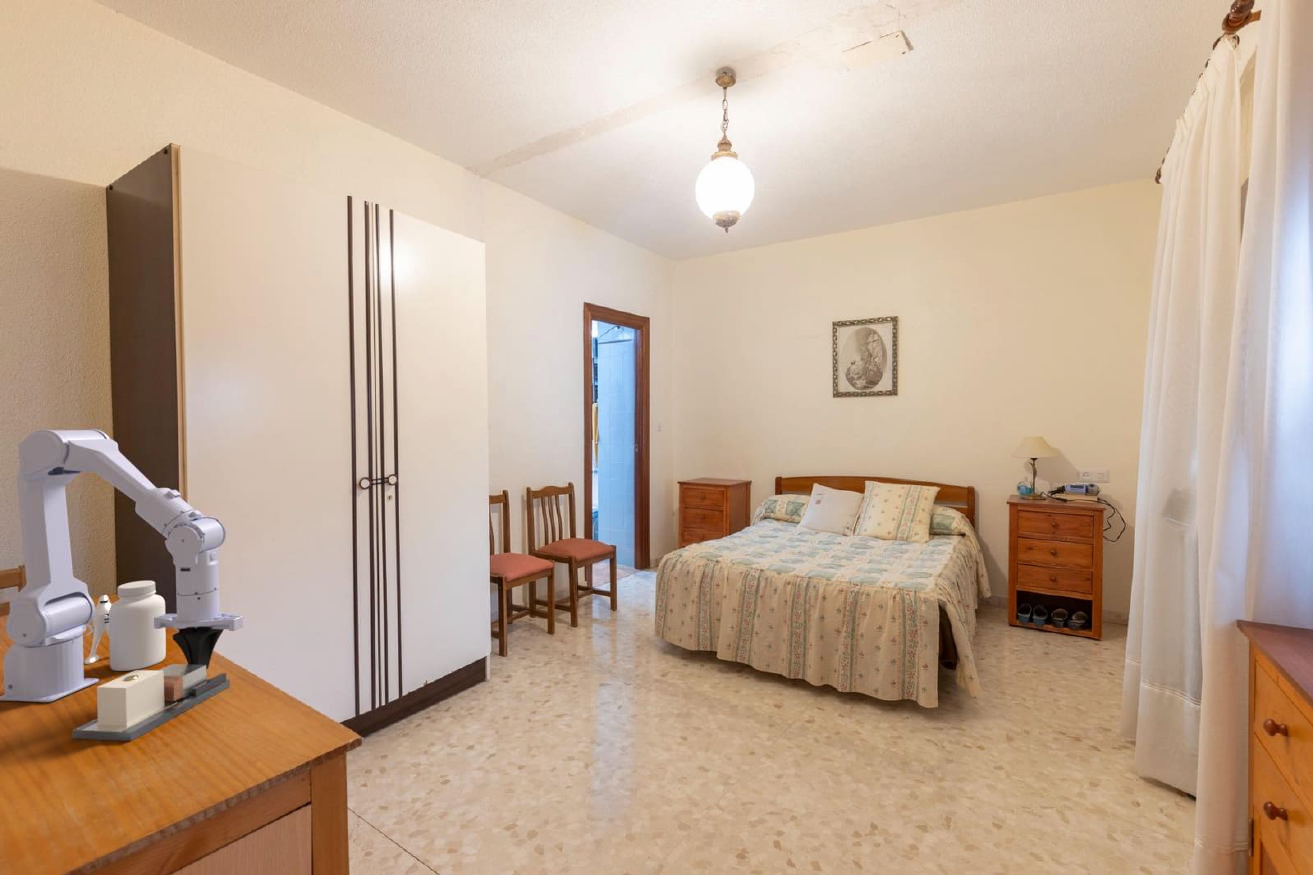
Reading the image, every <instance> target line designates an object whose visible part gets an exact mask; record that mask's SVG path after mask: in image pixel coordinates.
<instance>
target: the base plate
mask: <svg viewBox="0 0 1313 875" xmlns="http://www.w3.org/2000/svg"><path fill="white" fill-rule="evenodd" d="M230 684H231V680H230V679H227V672H221V673H219V674H218V675H215V676H213V677H211V678H206V681H205V682H203V683H201V684H200V685H198V686H196V687H194V688H192V689H191V693H192V694H190V695H188V696H187V697H185V698H180V699H178V700H176V701H164V707H162V708H160V709H158V710H156V711H154V712H152V713H150V714H149V715H147V716H145V717H143V718H141V719H139V720H137V721H135V722H133V723H131V724H130V725H128V726H116V725H98V717H97V718H95V719H93V720H91V721H89V722H87V723H85V724H83V725H80V726H78V727H76V728H74V729H72V739H76V740H97V741H100V740H101V741H116V742H117V741H118V742H119V741H120V742H121V741H122V742H132V741H134V740H136V739H138V738H139V737H142V736H143V735H145V734H147V733H148V732H150V731H152V730H154V729H156V728H157V727H159V726H161V725H163V724H165V723H166V722H169V721H170V720H172V719H173V718H174V719H175V718H176V717H178V716H179V715H181V714H183V713H184V711H185V712H186V710H187V711H188V710H190V709H192V708H194V707H196V706H197V705H200V704H201V703H202V701H203V702H204V700H205V701H206V700H209V699H210V698H212V697H214V696H215V695H217V694H219V693H221V692H223V691H225V690H226V689H228V688H230V686H231V685H230ZM220 691H221V692H220ZM195 705H196V706H195ZM178 714H179V715H178ZM177 715H178V716H177ZM175 716H176V717H175Z"/></svg>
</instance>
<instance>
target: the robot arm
mask: <svg viewBox="0 0 1313 875" xmlns="http://www.w3.org/2000/svg"><path fill="white" fill-rule="evenodd" d="M17 446H18V455H19V457H18V458H19V468H18V471H17V475H16V486H17V487H16V488H17V500H18V508H19V516H20V517H19V518H20V529H21V538H22V550H23V560H24V569H25V570H24V571H25V579H26V581H25V582H26V585H25V586H24V587H23V588H22V589H21V590H20V591H19V592H18V593H16V594H15V596H13V597H12V598H11V600H9V614H8V616H7V618H6V621H5V631H6V635H7V636H8V637H9V639H10V640H11V642H14V644H12V645H11V646H10V647H9V649H8V650H7V651H6V653H5V655H4V658H3V661H2V662H3V663H2V664H3V688H4V689H3V692H4V694H3V695H1V696H0V701H8V702H11V701H12V702H31V703H32V702H34V703H37V702H39V703H50V702H54V701H56V700H58V699H62V698H63V697H65V696H68V695H70V694H73V693H75V692H77V691H80V690H83V689H85V688H87V687H90V686H92V685H93V684H96V683H99V680H100V679H99V678H94V677H93V678H92V677H91V678H89V677H85V674H84V671H85V669H84V665H85V664H84V639H83V638H84V636H83V633H84V632H86V631H87V627H86V625H87V624H88V623H89V624H90V622H92V621H91V620H92V619H93V617H94V614H95V606H96V605H95V603H94V600H93V599H92V597H91V596H90V594H89V590H88V585H87V584H86V583H85V582H83V581H82V580H80V579H78V578H76V577H74V570H73V560H72V549H71V540H70V529H69V518H68V506H67V496H66V486H67V485H68V484H69V483H70V482H71V481H73V480H74V479H75V478H76V477H77V476H78V475H79V474H82V473H86V472H87V473H94V474H96V475H98V476H99V477H101V478H102V479H103V480H105V481H106V482H108V483H109V484H110V485H112V486H113V487H115V488H116V489H117V490H118V491H120V492H121V493H123V494H124V495H126V496H127V497H128V498H130V499H132V500H133V502H135V509H134V510H135V513H136V514H137V515H138V516H139V517H140V518H142V519H143V520H144V521H145V522H146V523H147V524H149V525H150V526H151V527H152V528H154V529H155V530H156V531H157V532H159V533H160V534H161V535H162V537H165V538H166V539H165V540H164V544H165V547H166V550H167V551H168V553H170V554H171V556H172V559H173V560H172V563H173V565H174V567H175V587H176V588H175V589H176V593H175V594H176V595H175V596H176V613H165V614H163V615H160V616H157V617H154V629H161V628H165V629H167V628H169V629H177V630H178V632H176V633H174V634H173V635H172V640H173V641H174V642H175V643H176V644H177V646H178V647H179V648H180V650H181V651H182V653H183V656H184V657H185V659H186V662H187V664H190V665H206V670H208V669H209V666H210V663H211V659H212V656H213V653H214V649H215V647H216V644H217V643H218V640H219V638H220V636H221V635H222V634H223V631H225V630H228V632H229V631H230V632H235V631H237V630H240V629H242V628H244V616H243V615H235V614H231V613H226V612H222V611H220V575H219V574H220V573H219V572H220V571H219V566H220V565H219V548H220V547H221V546H223V544H224V542H225V540H226V538H227V530H226V527H225V525H224V524H223V523H222V522H221V521H220V519H219V518H218V517H216V516H211V515H210V516H209V515H208V516H206V515H204V514H203V513H202V512H201V511H200V510H198V509H197V510H196V509H195V508H193V506H191V505H190V504H189V503H188V502H187V501H185V500H184V499H182V498H181V497H180V496H181V493H180V492H179V491H178V490H177V489H171V488H168V487H160V488H159V487H156V485H154V484H153V483H152V482H151V481H150V480H149V479H148V478H147V477H146V476H145V475H144V474H143V473H142V472H141V471H140V470H139V469H138V468H137V467H136V466H135V465H134V464H133V463H132V462H131V461H130V460H129V459H127V458H126V456H124V455H123V454H122V452H120V450H119V444H118V442H116V441H115V440H113V439H112V438H110V437H109V435H108V434H106V433H105V432H104V431H103V430H100V429H95V428H88V429H84V430H83V429H75V430H74V429H67V430H64V429H60V430H59V429H55V430H52V429H39V430H35V431H34V432H32V433H30V434H29V435H28V436H27V437H26V438H24V439H23V440H22V441H21V442H20V443H18V445H17Z"/></svg>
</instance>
